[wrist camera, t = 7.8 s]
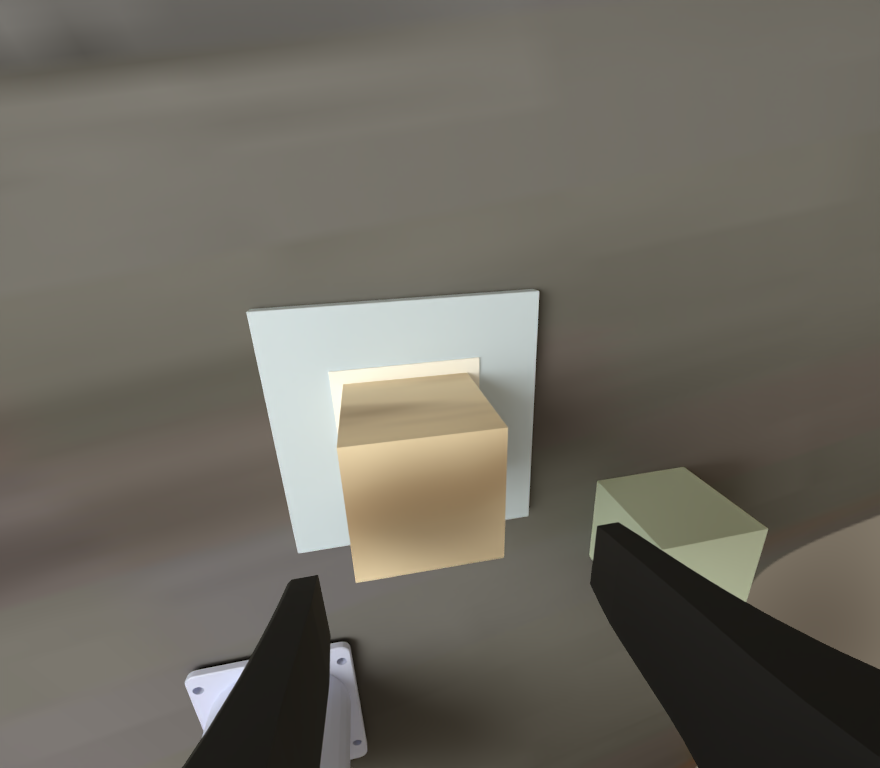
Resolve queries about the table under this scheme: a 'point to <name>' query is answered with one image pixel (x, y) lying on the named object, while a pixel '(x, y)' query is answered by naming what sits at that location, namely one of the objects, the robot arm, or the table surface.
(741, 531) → the sage block
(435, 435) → the maple block
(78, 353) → the table surface
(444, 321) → the board
